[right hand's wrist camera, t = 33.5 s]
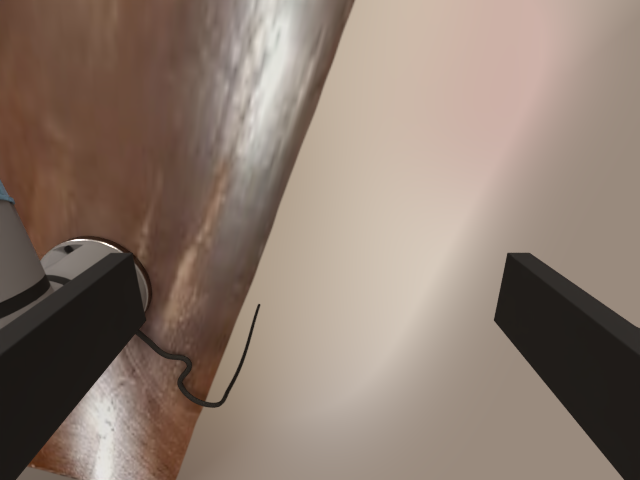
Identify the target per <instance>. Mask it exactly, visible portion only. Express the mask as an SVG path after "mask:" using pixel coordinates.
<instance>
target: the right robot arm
mask: <svg viewBox="0 0 640 480" xmlns="http://www.w3.org/2000/svg"><path fill="white" fill-rule="evenodd" d="M14 204H15V201H14V200H13V198H11V197H9V195H8V193H7V192H6V190H5V188H4V186H3V184H2V182H1V180H0V480H16V479H17V478H18V476H19V475H20V474H21V473H22V471H23V470H24V469H25V468H26V467H27V465H28V464H29V463H30V462H31V460H32V459H33V458H34V457H35V456H36V454H37V453H38V452H39V451H40V449H41V448H42V447H43V446H44V445H45V443H46V442H47V441H48V440H49V438H50V437H51V436H52V435H53V434H54V432H55V431H56V430H57V429H58V427H59V426H60V425H61V424H62V423H63V421H64V420H65V419H66V418H67V416H68V415H69V414H70V413H71V412H72V410H73V409H74V408H75V407H76V405H77V404H78V403H79V402H80V401H81V399H82V398H83V397H84V396H85V394H86V393H87V392H88V391H89V390H90V388H91V387H92V386H93V385H94V383H95V382H96V381H97V380H98V379H99V377H100V376H101V375H102V374H103V372H104V371H105V370H106V369H107V368H108V366H109V365H110V364H111V363H112V361H113V360H114V359H115V358H116V357H117V355H118V354H119V353H120V352H121V350H122V349H123V348H124V347H125V346H126V344H127V343H128V342H129V341H130V339H131V338H132V337H133V336H134V334H136V335H137V336H139V337H140V338H141V339H142V340H143V341H145V342H146V343H147V344H148V345H149V346H150V347H151V348H152V349H153V350H154V351H155V352H157V353H158V354H159V355H161V356H163V357H165V358H167V359H173V360H182V361H184V362H185V363H186V364H187V368H186V370H185V371H184V372H183V373H182V374H181V376H180V377H179V379H178V387H179V389H180V390H181V392H182V393H183V394H184V395H185V396H186V397H187V398H188V399H189V400H191V401H192V402H194V403H196V404H198V405H201V406H205V407H212V408H215V407H219V406H221V405H222V404H223V403H224V402H225V401H226V399H227V397H228V394H229V392H230V390H231V389H232V387H233V385H234V383H235V381H236V379H237V377H238V375H239V373H240V370H241V368H242V365H243V363H244V360H245V357H246V354H247V350H248V347H249V344H250V340H251V337H252V333H253V329H254V325H255V322H256V318H257V315H258V311H259V308H260V304H258V306H257V308H256V311H255V315H254V318H253V321H252V325H251V328H250V332H249V336H248V339H247V342H246V346H245V349H244V352H243V355H242V358H241V361H240V363H239V365H238V368H237V370H236V372H235V374H234V376H233V379H232V380H231V382H230V384H229V386H228V388H227V389H226V391H225V393H224V396H223V398H222V399H221V401H219V402H217V403H209V402H205V401H202V400H199V399H197V398H196V397H194V396H193V395H191V394H190V393H189V392H188V391H187V390H186V389H185V387H184V386H183V383H182V381H183V379H184V378H185V377H186V376H187V374H188V373H189V372H190V370H191V368H192V363H191V361H190V360H189V359H188V358H187V357H185V356H182V355H172V354H168V353H166V352H164V351H163V350H161V349H160V348H159V347H158V346H157V345H156V344H155V343H154V342H153V341H152V340H151V339H149V338H148V337H147V336H146V335H145V334H144V333H142V332H141V331H140V330H139V328H140V327H141V326H142V325H143V323H144V322H145V321H146V318H145V312H146V311H147V309H148V307H149V304H150V301H151V294H152V291H151V283H150V280H149V277H148V274H147V272H146V270H145V269H144V267H143V266H142V264H141V263H140V262H139V260H138V259H137V258H136V257H135V256H134V255H133V253H131V252H129V251H128V250H127V249H125V248H124V247H122V246H121V245H119V244H117V243H115V242H112V241H110V240H107V239H104V238H99V237H92V236H82V237H76V238H72V239H69V240H67V241H65V242H63V243H61V244H59V245H57V246H56V247H54V248H53V249H51V250H50V251H49V252H48V253H47V254H46V255H45V256H44V257H43V258H42V259H41V261H40V260H39V258H38V256H37V254H36V251H35V249H34V247H33V245H32V243H31V241H30V239H29V237H28V234H27V232H26V230H25V228H24V226H23V224H22V222H21V219H20V217H19V215H18V213H17V211H16V209H15V207H14ZM494 321H495V322H496V323H497V325H498V326H499V327H500V328H501V330H502V331H503V332H504V333H505V334H506V336H507V337H508V338H509V339H510V341H511V342H512V343H513V344H514V346H515V347H516V348H517V349H518V350H519V352H520V353H521V354H522V355H523V357H524V358H525V359H526V360H527V361H528V363H529V364H530V365H531V366H532V367H533V369H534V370H535V371H536V372H537V374H538V375H539V376H540V377H541V379H542V380H543V381H544V382H545V383H546V385H547V386H548V387H549V388H550V390H551V391H552V392H553V393H554V394H555V396H556V397H557V398H558V399H559V401H560V402H561V403H562V404H563V405H564V407H565V408H566V409H567V410H568V412H569V413H570V414H571V415H572V416H573V418H574V419H575V420H576V421H577V423H578V424H579V425H580V426H581V427H582V429H583V430H584V431H585V432H586V434H587V435H588V436H589V437H590V438H591V440H592V441H593V442H594V443H595V445H596V446H597V447H598V448H599V449H600V451H601V452H602V453H603V454H604V456H605V457H606V458H607V459H608V460H609V462H610V463H611V464H612V465H613V467H614V468H615V469H616V470H617V471H618V473H619V474H620V475H621V476H622V478H623V479H624V480H640V328H638V327H636V326H634V325H633V324H631V323H630V322H628V321H627V320H626V319H624V318H623V317H621V316H620V315H618V314H617V313H615V312H614V311H613V310H611V309H610V308H608V307H607V306H605V305H604V304H602V303H601V302H600V301H598V300H597V299H595V298H594V297H592V296H591V295H589V294H588V293H587V292H585V291H584V290H582V289H581V288H579V287H578V286H577V285H575V284H574V283H572V282H571V281H569V280H568V279H566V278H565V277H563V276H562V275H561V274H559V273H558V272H556V271H555V270H553V269H552V268H551V267H549V266H548V265H546V264H545V263H543V262H542V261H540V260H539V259H538V258H536V257H535V256H533V255H532V254H530V253H507V258H506V263H505V268H504V273H503V278H502V283H501V288H500V293H499V298H498V303H497V308H496V313H495V318H494Z"/></svg>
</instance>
